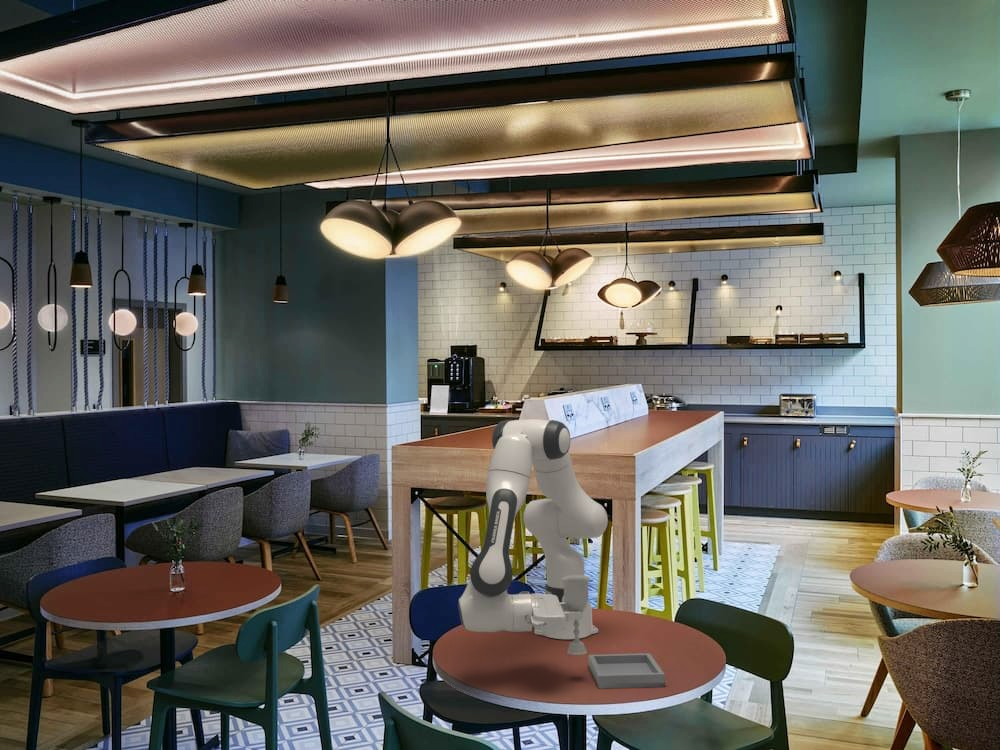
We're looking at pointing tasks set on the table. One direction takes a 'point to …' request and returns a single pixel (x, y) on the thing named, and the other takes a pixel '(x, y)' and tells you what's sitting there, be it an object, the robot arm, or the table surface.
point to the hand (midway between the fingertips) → (580, 611)
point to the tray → (626, 671)
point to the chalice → (576, 606)
